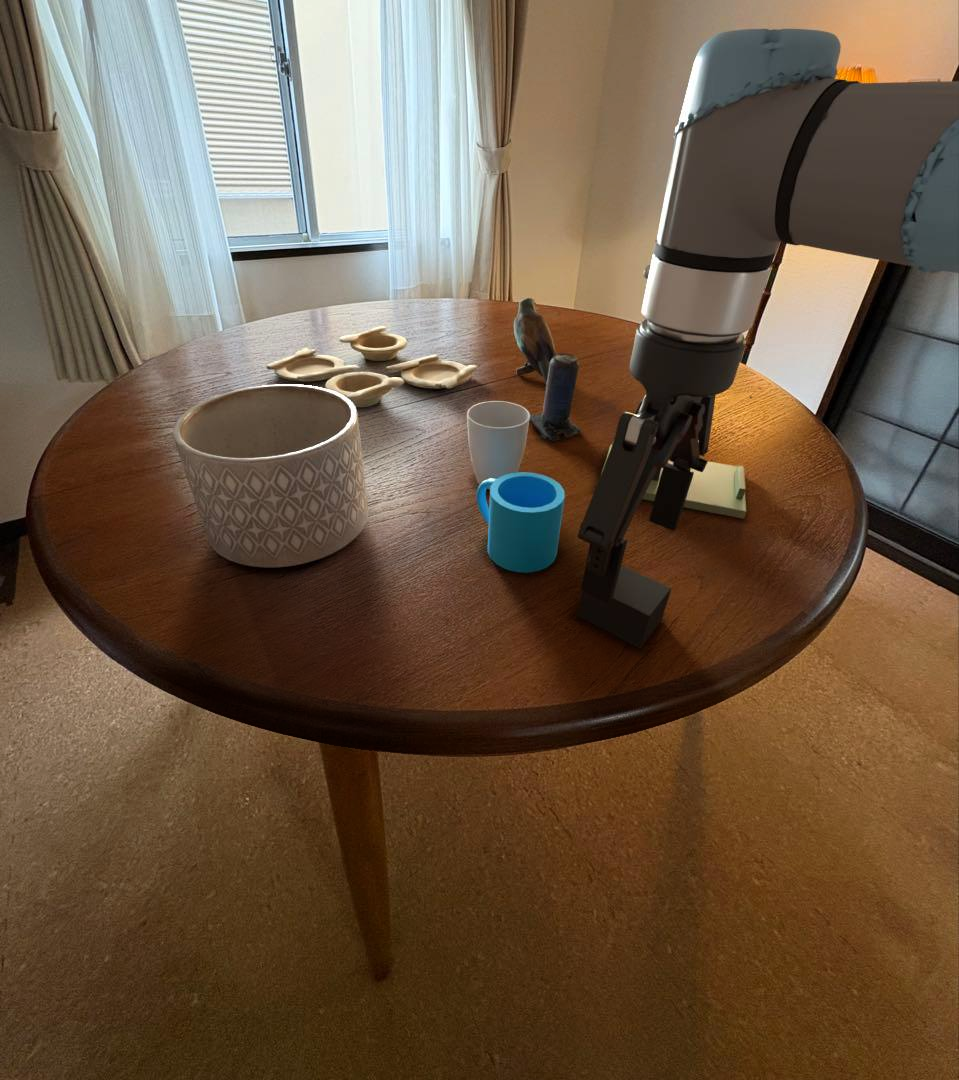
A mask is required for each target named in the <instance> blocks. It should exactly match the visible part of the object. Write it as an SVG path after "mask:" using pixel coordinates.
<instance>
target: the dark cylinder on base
mask: <svg viewBox="0 0 959 1080" xmlns="http://www.w3.org/2000/svg"><path fill="white" fill-rule="evenodd" d="M569 354H570V355H569ZM579 369H580V364H579V361H578V356H576V355H573V354H571V353H556V354H555V355H554V357H553V358H552V359H551V361H550V365H549V372H548V378H547V385H546V384H545V385H546V386H545V392H544V400H543V406H542V412H541V413H538V414H537V413H536V414H530V419H529V424H532V425H533V426H535V428H536V429H537V431H538V432H539V434H541V435H540V437H541V439H543V440H546V439H547V440H548V441H552V443H553V442H556V441H558V440H561V438H562V436H560V434H559V433H561V434H564V436H565V437H572V436H574V435H575V434H576V435H577V434H580V433H581V429H580V428H579V425H576V424H575V422H573V421H572V420H571V419H570V415H571V411H572V407H573V402H574V397H575V391H576V386H577V378H578V373H579Z"/></svg>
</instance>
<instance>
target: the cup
mask: <svg viewBox="0 0 959 1080" xmlns="http://www.w3.org/2000/svg"><path fill="white" fill-rule="evenodd" d="M530 415H531V414H530V412H529V410H528V409H527V408H525V407H524V406H522V405H520V404H518V403H514V402H510V401H503V400H489V401H483V402H479V403H476V404H474V405H472V406H470V407H469V408H468V410H467V411H466V420H467V421H466V422H467V439H468V441H467V442H468V447H469V454H470V459H471V465H472V469H473V472H474V475H475V478H476V481H477V484H478V486H480V484H481V483H482V482H483V481H485V480H488V479H490V478H494V479H498V478H499V477H501V476H504V475H507V474H510V473H518V472H519V471H520V468H521V464H522V461H523V457H524V454H525V449H526V446H527V438H528V432H529V425H530V423H529V419H530ZM490 487H491V486H489V487H488V488H487V489H486V490H490Z"/></svg>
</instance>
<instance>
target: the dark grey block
mask: <svg viewBox="0 0 959 1080" xmlns="http://www.w3.org/2000/svg"><path fill="white" fill-rule="evenodd" d="M671 592H672V587H670V586H668V585H665V584H664V583H662V582H659V581H658V580H655V579H653V578H651V577H648V576H647V575H644V574H642V573H640V572H638V571H635V570H633V569H631V568H628V567H626V566H625V565H622V564H621V568H620V572H619V576H618V580H617V584H616V588H615V592H614V596H613V600H612V601H611V602H610V603H609V604H607V603H605V602H603V601H601V600H600V599H598V598H596V597H594V596H592V595H590V594H588V593H586V592H584V591H582V590H581V595H580V600H579V605H578V611H577V617H579V618H580V619H583V620H584V621H586V622H588V623H590V624H592V625H594V626H596V627H598V628H599V629H601V630H603V631H605V632H607V633H610V635H613V636H614V637H616V638H619V639H620V640H622V641H624V642H626V643H628V644H630V645H631V646H634V647H635V648H637V649H639V650H640V649H641V648H642V647H643V646H644V645H645V643H646V642H647V641H648V639H649V638H650V636H652V634H653V633H654V631H655V630H656V629H657V627H658V626H659V625H660V623H661V622H662V621H663V617H664V615H665V611H666V608H667V605H668V601H669V598H670V595H671Z"/></svg>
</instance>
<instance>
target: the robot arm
mask: <svg viewBox="0 0 959 1080" xmlns="http://www.w3.org/2000/svg"><path fill="white" fill-rule="evenodd" d="M841 48H842V47H841V42H840V39H839V37H838V36H837V35H836V34H834V33H832V32H829V31H824V30H820V29H819V30H818V29H807V28H806V29H805V28H780V29H778V28H776V29H775V28H773V29H769V28H747V29H745V28H744V29H736V30H735V29H733V30H727V31H724V32H720V33H717V34H715V35H713V36H712V37H710V38H708V39H707V40H706V41H705V42H704V43H703V44H702V46H701V47H700V48H699V50H698V52H697V54H696V55H695V59H694V62H693V64H692V68H691V74H690V76H689V80H688V85H687V89H686V93H685V97H684V100H683V104H682V109H681V111H680V112H681V113H680V115H679V119H678V120H679V121H678V124H677V125H676V126H675V129H674V132H673V138H674V143H673V149H672V155H671V159H670V160H671V161H670V166H669V173H668V178H667V183H666V188H665V189H666V190H665V194H664V199H663V203H662V210H661V215H660V220H659V226H658V231H657V237H656V239H655V244H654V247H653V252H652V257H651V262H650V264H647V265H646V266H645V268H644V270H643V274H642V275H643V277H644V278H645V279H646V281H647V282H646V286H645V291H644V296H643V301H642V305H641V306H642V307H641V315H642V316H643V318H644V320H643V321H642V322H641V323H640V324H638V325H637V327H636V332H635V336H634V340H633V341H634V342H633V347H632V352H631V357H630V362H629V371H630V374H631V376H632V377H633V378H634V379H635V380H636V382H639V383H640V385H641V386H642V387H643V388H644V390H645V395H644V397H643V399H642V400H641V401H640V403H639V404H638V406H637V408H636V410H635V412H634V413H631V412H628V411H624V412H622V414H621V415H620V417H619V418H618V424H617V427H616V430H615V435H614V437H615V438H614V437H613V440H614V442H613V441H612V444H613V445H612V444H611V445H612V448H611V450H610V453H609V456H608V458H607V457H606V458H607V461H606V460H605V461H606V463H605V462H604V464H605V466H604V465H603V467H604V468H603V467H602V470H603V471H602V470H601V474H600V475H599V476H600V477H599V478H598V481H597V484H596V487H595V489H594V491H593V494H592V497H591V499H590V502H589V503H588V507H587V510H586V512H585V514H584V517H583V520H582V521H581V523H580V526H579V529H578V532H577V539H579V540H580V541H584V543H585V542H586V543H588V544H589V547H588V552H587V556H586V561H585V567H584V572H583V578H582V581H581V582H582V583H581V587H580V590H581V592H582V591H584V592H586V593H588V594H590V595H592V596H594V597H596V598H598V599H600V600H601V601H603V602H605V603H607V604H609V603H610V602H611V601H612V600H613V596H614V592H615V588H616V584H617V580H618V576H619V572H620V568H621V565H622V564H623V560H624V555H625V552H626V548H627V544H628V539H627V538H625V536H626V533H627V531H628V529H629V527H630V525H631V523H632V520H633V519H634V517H635V514H636V513H637V511H638V509H639V506H640V505H641V502H642V501H643V500H644V499H643V497H644V495H645V493H646V491H647V489H648V487H649V485H650V482H651V480H652V478H653V476H654V474H655V472H656V471H657V469H659V468H663V470H662V474H661V478H660V482H659V485H658V489H657V493H656V496H655V500H654V501H653V503H652V507H651V511H650V514H649V519H648V522H650V523H652V524H655V525H657V526H660V527H662V528H665V529H667V530H669V531H671V532H676V530H677V529H678V525H679V522H680V518H681V516H682V513H683V509H684V507H683V506H684V503H685V500H686V497H687V494H688V490H689V487H690V484H691V481H692V478H693V474H694V472H691V471H690V470H691V469H694V470H697V471H699V472H703V471H704V469H705V467H706V465H707V461H708V460H707V459H704V458H700V456H701V457H705V455H706V454H707V453H708V451H709V444H710V439H711V438H710V437H711V431H712V423H713V416H714V410H715V403H716V396H717V395H720V394H723V393H724V392H727V390H729V389H730V388H731V387H732V386H733V384H734V381H735V379H736V376H737V372H738V370H739V367H740V363H741V360H742V357H743V354H744V351H745V348H746V344H747V340H746V339H745V336H744V333H745V332H747V331H749V330H751V329H752V328H753V326H754V323H755V320H756V317H757V313H758V310H759V306H760V304H761V300H762V297H763V294H764V291H765V288H766V284H767V281H768V278H769V275H770V271H771V269H772V265H773V261H774V258H775V255H776V251H777V249H778V247H779V243H783V244H786V245H790V246H791V245H792V246H804V247H809V248H814V249H820V250H826V251H829V252H830V251H831V252H835V253H839V254H846V255H851V256H857V257H860V258H861V257H862V258H867V259H872V260H877V261H883V262H888V263H893V264H898V265H899V264H900V265H904V266H909V267H915V268H917V271H919V272H922V273H927V274H935V273H936V274H937V273H940V272H946V273H948V272H949V273H955V274H959V80H957V81H956V80H955V81H954V80H953V81H951V80H949V81H948V80H947V81H944V80H943V81H902V82H901V81H900V82H860V81H858V80H847V79H843V78H842V79H840V78H836V76H837V75H838V68H837V66H838V62H839V59H840V54H841ZM651 450H654V451H657V452H659V453H655V452H652V451H651ZM669 460H670V461H672V462H674V464H673V465H672V464H669V463H668V461H669Z"/></svg>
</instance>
